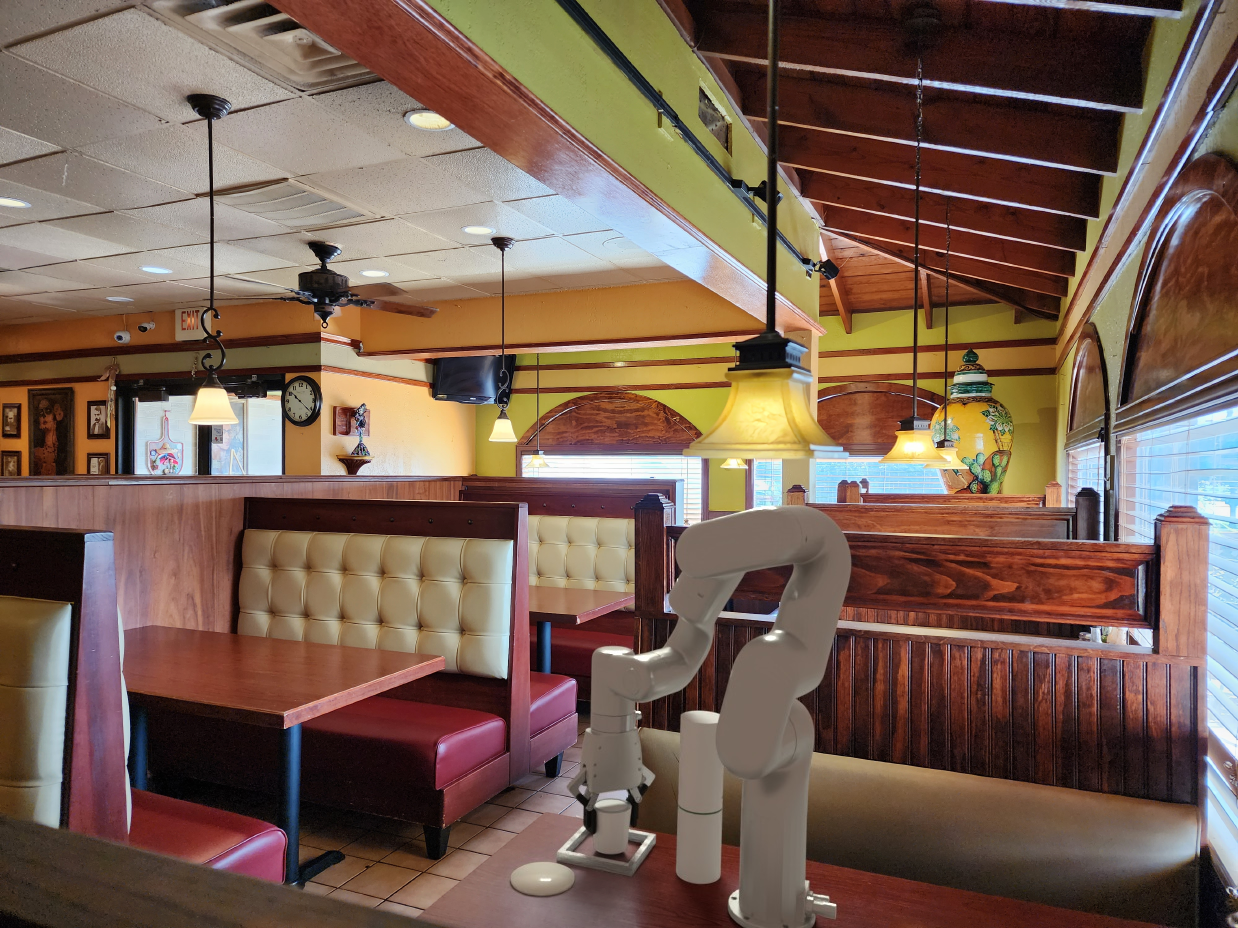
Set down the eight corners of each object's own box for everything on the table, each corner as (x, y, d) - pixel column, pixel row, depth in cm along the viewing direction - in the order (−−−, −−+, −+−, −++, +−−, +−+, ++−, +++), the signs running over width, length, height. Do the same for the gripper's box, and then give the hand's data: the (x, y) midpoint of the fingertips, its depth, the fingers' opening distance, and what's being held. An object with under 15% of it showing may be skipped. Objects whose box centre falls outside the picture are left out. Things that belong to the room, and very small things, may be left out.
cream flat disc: (584, 871, 129) (584, 868, 129) (558, 901, 119) (558, 898, 119) (528, 859, 132) (528, 857, 132) (499, 887, 123) (499, 885, 123)
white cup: (630, 856, 132) (631, 813, 132) (589, 854, 132) (590, 811, 133) (630, 838, 139) (631, 797, 139) (591, 837, 139) (592, 796, 139)
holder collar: (655, 842, 140) (655, 834, 140) (631, 876, 128) (631, 866, 128) (586, 829, 144) (586, 821, 144) (556, 860, 132) (557, 851, 132)
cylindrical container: (721, 864, 133) (725, 712, 133) (719, 886, 126) (723, 725, 126) (678, 859, 134) (682, 709, 134) (673, 880, 127) (678, 721, 127)
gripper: (648, 710, 144) (646, 811, 143) (556, 720, 136) (554, 827, 136) (668, 721, 137) (666, 827, 136) (573, 733, 129) (571, 845, 129)
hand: (610, 826), depth 136 cm, fingers closed on white cup, 6 cm apart
